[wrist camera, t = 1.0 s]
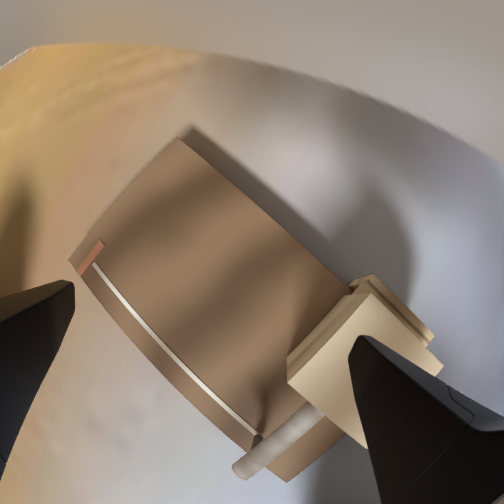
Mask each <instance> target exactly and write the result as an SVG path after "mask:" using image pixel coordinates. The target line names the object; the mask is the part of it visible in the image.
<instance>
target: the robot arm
mask: <svg viewBox="0 0 504 504" xmlns="http://www.w3.org/2000/svg"><path fill="white" fill-rule="evenodd" d="M74 311H75V287H74V284H73V283H72V282H70V281H66V280H58V281H55V282H52V283H48V284H45V285H42V286H39V287H35V288H32V289H29V290H26V291H22V292H19V293H16V294H13V295H10V296H6V297H3V298H0V480H1V477H2V475H3V472H4V469H5V466H6V464H5V463H7V461H8V458H9V455H10V453H11V450H12V448H13V445H14V443H15V440H16V438H17V436H18V433H19V431H20V429H21V426H22V424H23V422H24V419H25V417H26V415H27V413H28V411H29V408H30V406H31V404H32V402H33V400H34V398H35V396H36V394H37V392H38V389H39V387H40V385H41V383H42V381H43V379H44V377H45V375H46V374H47V372H48V370H49V368H50V366H51V364H52V362H53V360H54V358H55V356H56V354H57V352H58V350H59V348H60V346H61V343H62V341H63V338H64V336H65V333H66V331H67V328H68V326H69V324H70V321H71V319H72V317H73V314H74ZM348 365H349V371H350V377H351V382H352V388H353V394H354V399H355V403H356V406H357V410H358V414H359V417H360V421H361V424H362V428H363V432H364V435H365V439H366V443H367V447H368V451H369V454H370V458H371V462H372V466H373V470H374V474H375V478H376V483H377V487H378V491H379V495H380V500H381V504H504V417H503V416H501V415H499V414H497V413H495V412H493V411H492V410H490V409H488V408H486V407H484V406H482V405H481V404H479V403H477V402H475V401H473V400H472V399H470V398H468V397H466V396H465V395H463V394H462V393H460V392H458V391H457V390H455V389H453V388H452V387H450V386H449V385H446V384H445V383H444V382H442V381H441V380H439V379H438V378H436V377H434V376H433V375H431V374H430V373H428V372H427V371H425V370H423V369H422V368H420V367H419V366H417V365H416V364H414V363H412V362H411V361H409V360H408V359H406V358H405V357H403V356H401V355H400V354H398V353H397V352H395V351H394V350H392V349H390V348H389V347H387V346H386V345H384V344H383V343H381V342H379V341H378V340H376V339H375V338H373V337H372V336H369V335H359V336H358V337H357V338H356V340H355V342H354V344H353V347H352V349H351V351H350V353H349V355H348Z"/></svg>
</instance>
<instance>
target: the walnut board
mask: <svg viewBox="0 0 504 504" xmlns="http://www.w3.org/2000/svg"><path fill="white" fill-rule="evenodd" d="M68 260H69V261H70V263H71V264H72V265H73V267H74V268H75V270H76V272H77V273H78V275H79V276H80V277H81V278H82V279H83V281H84V282H85V283H86V285H87V286H88V287H89V289H90V290H91V291H92V293H93V294H94V295H95V297H96V298H97V299H98V301H99V302H100V303H101V304H102V306H103V307H104V308H105V309H106V311H107V312H108V313H109V314H110V316H111V317H112V318H113V319H114V321H115V322H116V323H117V324H118V325H119V327H120V328H121V329H122V330H123V331H124V332H125V334H126V335H127V336H128V337H129V338H130V339H131V341H132V342H133V343H134V344H135V345H136V346H137V347H138V349H139V350H140V351H141V352H142V353H143V354H144V355H145V356H146V357H147V359H148V360H149V361H150V362H151V363H152V364H153V365H154V366H155V367H156V368H157V369H158V370H159V371H160V372H161V374H162V375H163V376H164V377H165V378H166V379H167V380H168V381H169V382H170V383H171V384H172V385H173V386H174V387H175V388H176V389H177V390H178V391H179V392H180V393H181V394H182V395H183V396H184V397H185V398H186V399H187V400H188V401H189V402H190V403H191V404H192V405H194V406H195V407H196V408H197V409H198V410H199V411H200V412H201V413H202V414H203V415H204V416H205V417H206V418H207V419H209V420H210V421H211V422H212V423H213V424H214V425H215V426H216V427H217V428H219V429H220V430H221V431H222V432H223V433H224V434H225V435H227V436H228V437H229V438H230V439H231V440H232V441H234V442H235V443H236V444H237V445H238V446H240V447H241V448H242V449H243V450H244V451H246V452H247V453H248V452H249V451H250V450H251V446H252V442H253V438H254V436H255V435H256V434H260V435H262V436H263V440H264V439H265V438H266V437H267V436H269V435H270V434H271V433H272V432H273V431H274V430H276V429H277V428H278V427H279V426H280V425H281V424H282V423H284V422H285V421H286V420H287V419H288V418H289V417H290V416H291V415H292V414H294V413H295V412H296V411H297V410H298V409H299V408H300V407H301V406H302V405H303V404H304V403H305V402H306V401H307V400H306V399H305V398H304V397H303V396H302V395H301V394H300V393H298V392H297V391H296V390H295V389H294V388H293V387H292V386H290V385H289V384H288V383H287V357H288V355H289V354H290V353H291V352H292V351H293V350H294V349H295V348H296V347H297V346H298V345H299V344H300V343H301V342H302V341H303V340H304V339H305V338H306V337H307V336H308V335H309V334H310V333H311V332H312V331H313V330H314V329H315V327H316V326H317V325H318V324H319V323H320V322H321V321H322V320H323V319H324V318H325V317H326V316H327V314H328V313H329V312H330V311H331V310H332V309H333V308H334V307H335V306H336V305H337V303H338V302H339V301H340V300H341V299H342V298H343V297H344V296H345V295H352V294H353V292H352V291H351V290H350V289H349V288H348V287H347V286H346V285H345V284H343V283H342V282H341V281H340V280H339V279H338V278H337V277H336V276H335V275H334V274H333V273H332V272H331V271H330V270H328V269H327V268H326V267H325V266H324V265H323V264H322V263H321V262H320V261H319V260H318V259H317V258H315V257H314V256H313V255H312V254H311V253H310V252H309V251H308V250H307V249H306V248H304V247H303V246H302V245H301V244H300V243H299V242H298V241H297V240H296V239H295V238H293V237H292V236H291V235H290V234H289V233H288V232H287V231H286V230H285V229H283V228H282V227H281V226H280V225H279V224H278V223H277V222H276V221H274V220H273V219H272V218H271V217H270V216H269V215H268V214H267V213H265V212H264V211H263V210H262V209H261V208H260V207H259V206H257V205H256V204H255V203H254V202H253V201H252V200H251V199H249V198H248V197H247V196H246V195H245V194H244V193H243V192H241V191H240V190H239V189H238V188H237V187H236V186H235V185H233V184H232V183H231V182H230V181H229V180H228V179H226V178H225V177H224V176H223V175H222V174H221V173H219V172H218V171H217V170H216V169H215V168H213V167H212V166H211V165H210V164H209V163H208V162H206V161H205V160H204V159H203V158H202V157H200V156H199V155H198V154H197V153H196V152H194V151H193V150H192V149H191V148H190V147H189V146H187V145H186V144H185V143H184V142H182V141H181V140H180V139H179V138H178V137H176V138H175V139H174V140H173V141H172V142H171V143H170V144H169V145H168V146H167V147H166V148H165V149H164V150H163V151H162V152H161V153H160V154H159V155H158V156H157V157H156V158H155V159H154V160H153V161H152V162H151V163H150V164H149V165H148V166H147V167H146V168H145V169H144V170H143V171H142V172H141V174H140V175H139V176H138V177H137V178H136V179H135V180H134V181H133V182H132V183H131V184H130V185H129V187H128V188H127V189H126V190H125V191H124V192H123V193H122V194H121V196H120V197H119V198H118V199H117V200H116V201H115V202H114V203H113V205H112V206H111V207H110V208H109V209H108V210H107V212H106V213H105V214H104V215H103V216H102V218H101V219H100V220H99V221H98V222H97V224H96V225H95V226H94V227H93V228H92V230H91V231H90V232H89V233H88V235H87V236H86V237H85V238H84V240H83V241H82V242H81V244H80V245H79V246H78V247H77V249H76V250H75V251H74V253H73V254H72V255H71V257H70V258H69V259H68ZM345 434H346V432H344V431H343V430H342V429H341V428H340V427H338V426H337V425H336V424H335V423H334V422H332V421H331V420H330V419H329V418H328V417H326V416H324V417H323V418H322V419H321V420H320V421H318V422H317V423H316V424H315V425H314V426H313V427H312V428H311V429H310V430H308V431H307V432H306V433H305V434H304V435H303V436H302V437H300V438H299V439H298V440H297V441H296V442H295V443H293V444H292V445H291V446H290V447H289V448H288V449H286V450H285V451H284V452H283V453H281V454H280V455H279V456H278V457H276V458H275V459H274V460H273V461H271V462H270V463H269V464H268V465H266V466H265V467H266V468H267V469H269V470H270V471H271V472H272V473H274V474H275V475H277V476H278V477H279V478H281V479H282V480H283V481H285V482H286V483H287V482H288V481H290V480H291V479H292V478H294V477H295V476H296V475H298V474H299V473H300V472H301V471H303V470H304V469H305V468H306V467H308V466H309V465H310V464H311V463H313V462H314V461H315V460H316V459H318V458H319V457H320V456H321V455H322V454H323V453H325V452H326V451H327V450H328V449H329V448H330V447H332V446H333V445H334V444H335V443H336V442H337V441H338V440H340V439H341V438H342V437H343V436H344V435H345Z"/></svg>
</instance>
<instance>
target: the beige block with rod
mask: <svg viewBox="0 0 504 504" xmlns="http://www.w3.org/2000/svg"><path fill="white" fill-rule="evenodd" d="M347 287H348V288H349V289H350V290H351V291H352V292H353V294H352V295H345V296H344V297H343V298H342V299H341V300H340V301H339V302H338V303H337V305H336V306H335V307H334V308H333V309H332V310H331V311H330V312H329V313H328V314H327V316H326V317H325V318H324V319H323V320H322V321H321V322H320V323H319V324H318V325H317V326H316V327H315V329H314V330H313V331H312V332H311V333H310V334H309V335H308V336H307V337H306V338H305V339H304V340H303V341H302V342H301V343H300V344H299V345H298V346H297V347H296V348H295V349H294V350H293V351H292V352H291V353H290V354H289V355H288V357H287V383H288V384H289V385H290V386H292V387H293V388H294V389H295V390H296V391H297V392H298V393H300V394H301V395H302V396H303V397H304V398H305V399H306V400H307V401H306V402H305V403H304V404H303V405H302V406H301V407H300V408H299V409H298V410H297V411H296V412H295V413H294V414H292V415H291V416H290V417H289V418H288V419H287V420H286V421H285V422H284V423H282V424H281V425H280V426H279V427H278V428H277V429H276V430H274V431H273V432H272V433H271V434H270V435H269V436H267V437H266V438H265V439H264V440H263V436H262V435H260V434H256V435H255V436H254V438H253V442H252V446H251V450H250V451H249V452H248V453H247V454H245V455H244V456H243V457H242V458H240V459H239V460H238V461H236V462H235V463H234V464H233V465H232V470H233V472H234V473H235V474H236V475H237V476H238V477H239V478H241V479H243V480H248V479H249V478H250V477H252V476H253V475H254V474H256V473H257V472H258V471H260V470H261V469H262V468H264V467H265V466H266V465H268V464H269V463H270V462H271V461H273V460H274V459H275V458H276V457H278V456H279V455H280V454H281V453H283V452H284V451H285V450H286V449H288V448H289V447H290V446H291V445H292V444H293V443H295V442H296V441H297V440H298V439H299V438H300V437H302V436H303V435H304V434H305V433H306V432H307V431H308V430H310V429H311V428H312V427H313V426H314V425H315V424H316V423H317V422H318V421H320V420H321V419H322V418H323V417H324V416H326V417H328V418H329V419H330V420H331V421H332V422H334V423H335V424H336V425H337V426H338V427H340V428H341V429H342V430H343V431H344V432H346V433H347V434H348V435H349V436H351V437H352V438H353V439H354V440H356V441H357V442H358V443H359V444H361V445H362V446H363V447H364V448H366V449H368V447H367V443H366V439H365V435H364V432H363V428H362V424H361V421H360V417H359V414H358V410H357V406H356V403H355V399H354V394H353V388H352V382H351V377H350V371H349V365H348V355H349V353H350V351H351V349H352V347H353V344H354V342H355V340H356V338H357V337H358V336H359V335H369V336H372V337H373V338H375V339H376V340H378V341H379V342H381V343H383V344H384V345H386V346H387V347H389V348H390V349H392V350H394V351H395V352H397V353H398V354H400V355H401V356H403V357H405V358H406V359H408V360H409V361H411V362H412V363H414V364H416V365H417V366H419V367H420V368H422V369H423V370H425V371H427V372H428V373H430V374H431V375H433V376H434V377H435V376H436V375H437V374H438V373H439V371H440V370H441V369H442V368H443V366H444V365H443V364H442V363H441V362H440V361H439V360H438V359H437V358H436V357H435V356H434V355H433V354H432V353H431V352H430V351H429V350H428V349H427V348H426V347H427V345H428V344H429V343H430V342H431V340H432V339H433V338H434V336H435V335H434V334H433V333H432V332H431V331H430V330H429V329H428V328H427V327H426V326H425V325H424V324H423V323H422V322H421V321H420V320H419V319H418V318H417V317H416V316H415V315H414V314H413V312H412V311H411V310H410V309H409V308H408V307H407V306H406V305H405V304H404V303H403V302H402V301H401V300H400V299H399V298H398V297H397V296H396V295H395V294H394V293H392V292H391V291H390V290H389V289H388V288H387V287H386V286H385V285H384V284H383V283H382V282H381V281H380V280H379V279H378V278H377V277H376V276H375V275H374V274H370V275H367V276H364V277H361V278H358V279H355V280H353V281H352V282H351V283H350V284H349V285H348V286H347Z"/></svg>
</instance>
